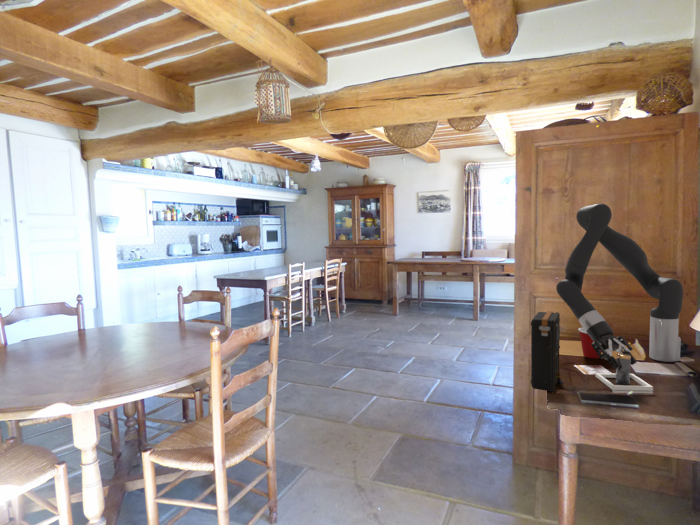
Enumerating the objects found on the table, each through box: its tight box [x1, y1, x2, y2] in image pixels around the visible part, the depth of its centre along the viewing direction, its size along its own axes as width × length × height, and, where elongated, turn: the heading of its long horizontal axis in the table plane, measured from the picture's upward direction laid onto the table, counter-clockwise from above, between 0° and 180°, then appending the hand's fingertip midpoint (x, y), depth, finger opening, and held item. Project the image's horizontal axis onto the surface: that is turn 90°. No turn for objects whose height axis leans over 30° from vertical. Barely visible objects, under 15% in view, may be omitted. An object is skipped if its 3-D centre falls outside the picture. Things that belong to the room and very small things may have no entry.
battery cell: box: [615, 353, 631, 385], centre depth 143 cm, size 4×4×10 cm
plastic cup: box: [577, 327, 602, 359], centre depth 173 cm, size 11×11×12 cm
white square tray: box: [595, 372, 654, 394], centre depth 144 cm, size 12×12×2 cm
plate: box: [573, 364, 612, 375], centre depth 158 cm, size 10×10×1 cm
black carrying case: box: [530, 310, 561, 393], centre depth 147 cm, size 16×9×25 cm, turn 148°
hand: (626, 365), depth 142 cm, fingers open, 8 cm apart
